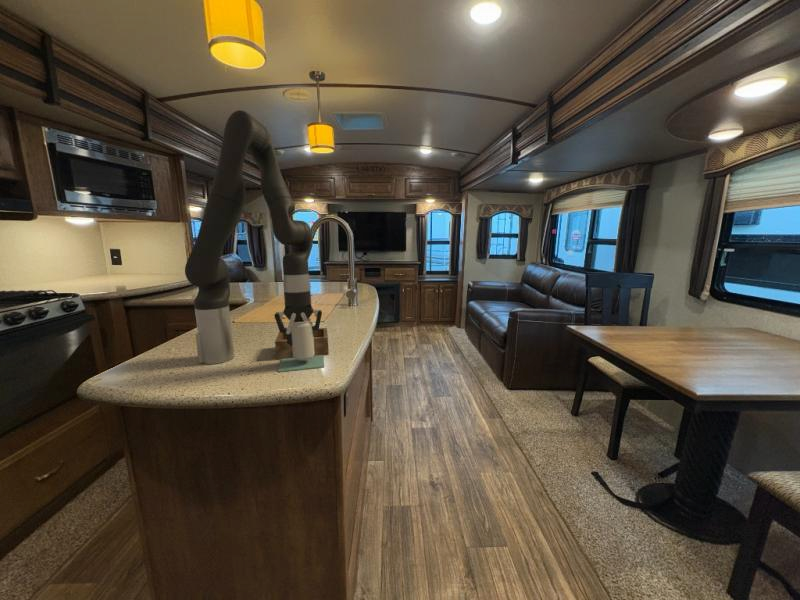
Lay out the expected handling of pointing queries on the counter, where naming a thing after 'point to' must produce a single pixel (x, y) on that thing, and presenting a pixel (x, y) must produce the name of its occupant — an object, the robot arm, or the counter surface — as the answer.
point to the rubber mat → (301, 364)
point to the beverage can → (302, 340)
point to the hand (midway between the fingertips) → (300, 344)
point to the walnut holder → (286, 350)
